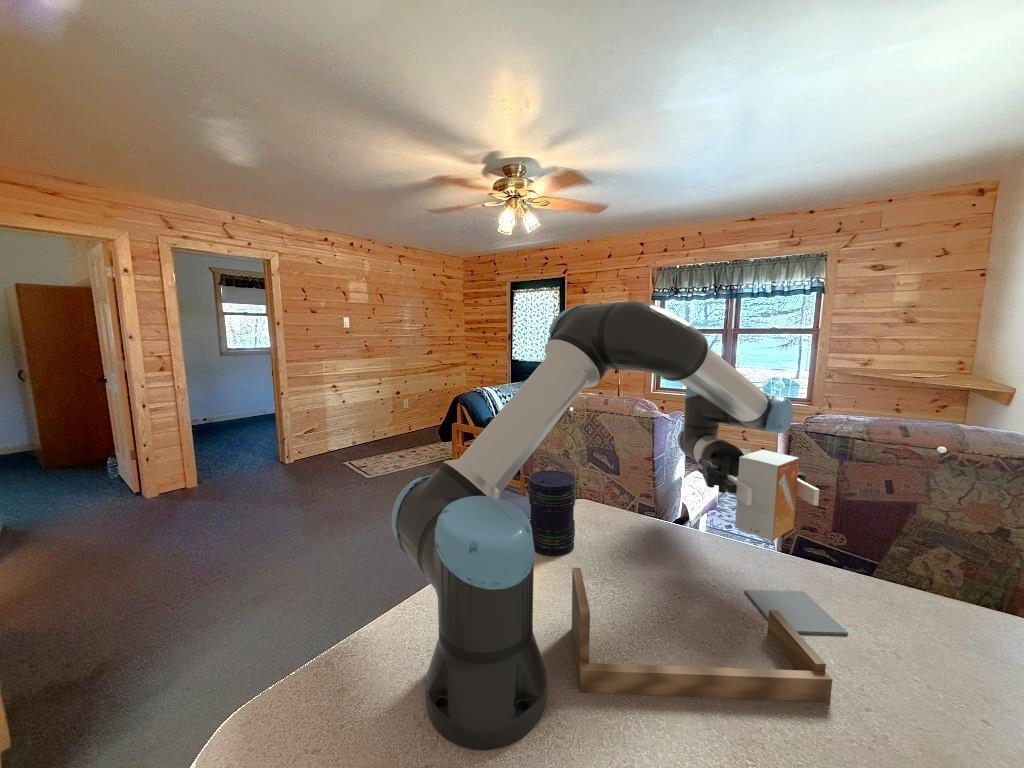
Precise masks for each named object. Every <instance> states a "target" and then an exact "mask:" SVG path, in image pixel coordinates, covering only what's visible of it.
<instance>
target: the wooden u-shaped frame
mask: <svg viewBox="0 0 1024 768" xmlns="http://www.w3.org/2000/svg"><path fill="white" fill-rule="evenodd" d="M571 574H572V576H571V577H572V582H571V583H572V584H571V585H572V586H571V634H572V642H573V649H574V656H575V663H576V670H577V677H578V684H579V685H578V687H579V692H580V693H593V694H594V693H595V694H596V693H597V694H615V695H616V694H619V695H620V694H622V695H624V694H625V695H643V696H644V695H646V696H647V695H648V696H671V697H698V698H700V697H701V698H721V699H722V698H726V699H727V698H729V699H746V700H747V699H751V700H754V699H755V700H771V701H772V700H776V701H777V700H778V701H779V700H780V701H799V702H800V701H801V702H806V701H807V702H828V703H829V702H830V703H831V697H832V690H833V689H832V687H833V678H832V677H831V676H830V675H829V674H828V673H827V672H826V669H827V668H826V667H827V664H826V663H825V661H824V659H822V658H821V656H819V654H817V653H816V651H815V650H814V649H813V648H812V647H811V645H809V643H807V641H806V640H805V639H804V637H802V636H801V635H800V634H798V632H797V631H796V630H795V629H794V628H793V627H792V626H791V625H790V624H789V623H788V621H787V620H786V619H785V618H784V617H783V616H782V615H781V614H780V613H779V611H778V610H769V620H768V619H767V620H768V623H767V637H768V638H769V640H771V642H772V643H773V644H774V645H775V646H776V647H777V649H778V650H779V651H780V653H781V654H782V655H783V656H784V658H785V659H786V660H787V661H788V662H789V664H790V665H791V667H792V668H793V669H768V668H767V669H766V668H765V669H763V668H739V667H737V668H736V667H714V666H713V667H710V666H688V665H687V666H683V665H681V666H680V665H657V664H656V665H649V664H629V663H628V664H623V663H602V662H601V663H599V662H593V663H592V662H590V638H591V637H590V635H591V633H590V631H591V630H590V628H591V611H590V606H589V601H588V596H587V591H586V587H585V586H586V585H585V583H584V578H583V577H584V576H583V573H582V568H581V567H572V573H571Z"/></svg>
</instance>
